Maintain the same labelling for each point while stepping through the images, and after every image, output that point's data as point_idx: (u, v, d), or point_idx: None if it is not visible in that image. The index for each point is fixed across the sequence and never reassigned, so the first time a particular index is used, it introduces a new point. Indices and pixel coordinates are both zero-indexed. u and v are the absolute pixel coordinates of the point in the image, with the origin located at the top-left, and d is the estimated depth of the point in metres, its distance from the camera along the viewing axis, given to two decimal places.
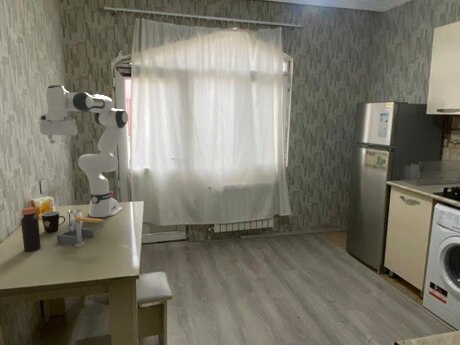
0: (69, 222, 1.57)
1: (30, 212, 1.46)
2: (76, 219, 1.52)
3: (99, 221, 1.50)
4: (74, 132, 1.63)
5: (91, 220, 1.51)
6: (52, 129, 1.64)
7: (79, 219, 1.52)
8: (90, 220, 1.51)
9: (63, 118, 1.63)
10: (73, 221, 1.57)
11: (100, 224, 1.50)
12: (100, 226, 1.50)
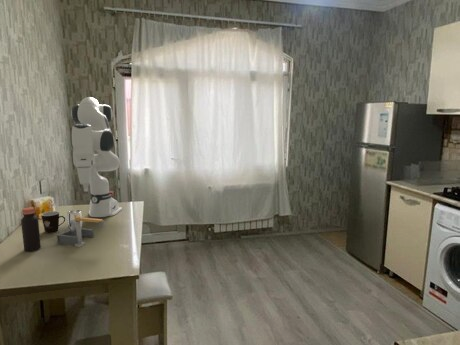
0: (69, 222, 1.57)
1: (30, 212, 1.46)
2: (76, 219, 1.52)
3: (99, 221, 1.50)
4: None
5: (91, 220, 1.51)
6: None
7: (79, 219, 1.52)
8: (90, 220, 1.51)
9: None
10: (73, 221, 1.57)
11: (100, 224, 1.50)
12: (100, 226, 1.50)
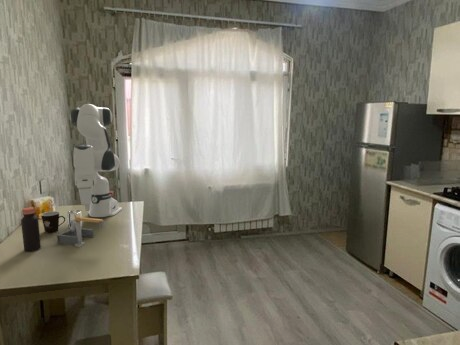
0: (69, 222, 1.57)
1: (30, 212, 1.46)
2: (76, 219, 1.52)
3: (99, 221, 1.50)
4: None
5: (91, 220, 1.51)
6: None
7: (79, 219, 1.52)
8: (90, 220, 1.51)
9: None
10: (73, 221, 1.57)
11: (100, 224, 1.50)
12: (100, 226, 1.50)
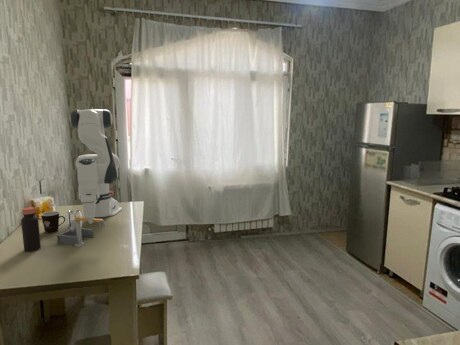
0: (69, 222, 1.57)
1: (30, 212, 1.46)
2: (76, 219, 1.52)
3: (100, 221, 1.50)
4: None
5: None
6: None
7: (79, 219, 1.52)
8: None
9: None
10: (73, 221, 1.57)
11: (101, 224, 1.50)
12: (101, 225, 1.50)
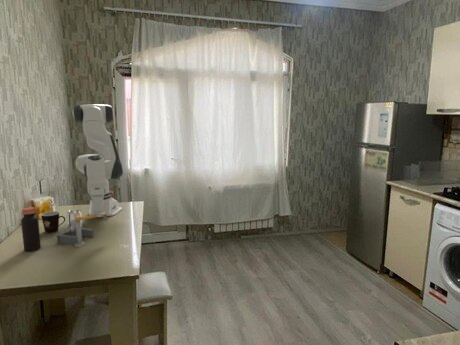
0: (69, 222, 1.57)
1: (30, 212, 1.46)
2: (79, 219, 1.52)
3: (104, 214, 1.60)
4: None
5: (95, 216, 1.57)
6: None
7: (81, 218, 1.53)
8: (94, 216, 1.57)
9: None
10: (73, 221, 1.57)
11: (105, 217, 1.60)
12: (106, 218, 1.61)
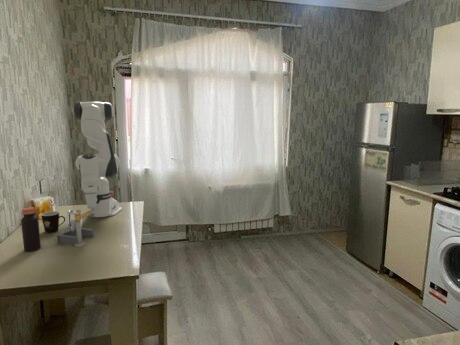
0: (69, 222, 1.57)
1: (30, 212, 1.46)
2: (80, 218, 1.53)
3: None
4: None
5: (88, 213, 1.61)
6: None
7: (81, 217, 1.54)
8: (88, 214, 1.60)
9: None
10: (73, 221, 1.57)
11: (93, 213, 1.66)
12: (94, 215, 1.66)
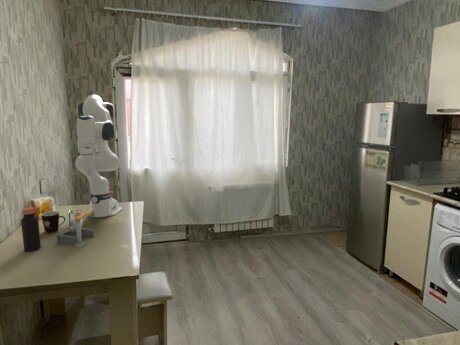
0: (69, 222, 1.57)
1: (30, 212, 1.46)
2: (80, 218, 1.53)
3: (93, 211, 1.65)
4: None
5: (88, 213, 1.61)
6: None
7: (81, 217, 1.54)
8: (88, 214, 1.60)
9: None
10: (73, 221, 1.57)
11: (93, 213, 1.66)
12: (94, 215, 1.66)
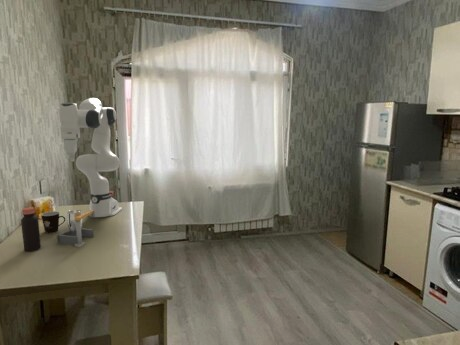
0: (69, 222, 1.57)
1: (30, 212, 1.46)
2: (80, 218, 1.53)
3: (93, 211, 1.65)
4: None
5: (88, 213, 1.61)
6: (75, 147, 1.63)
7: (81, 217, 1.54)
8: (88, 214, 1.60)
9: None
10: (73, 221, 1.57)
11: (93, 213, 1.66)
12: (94, 215, 1.66)
